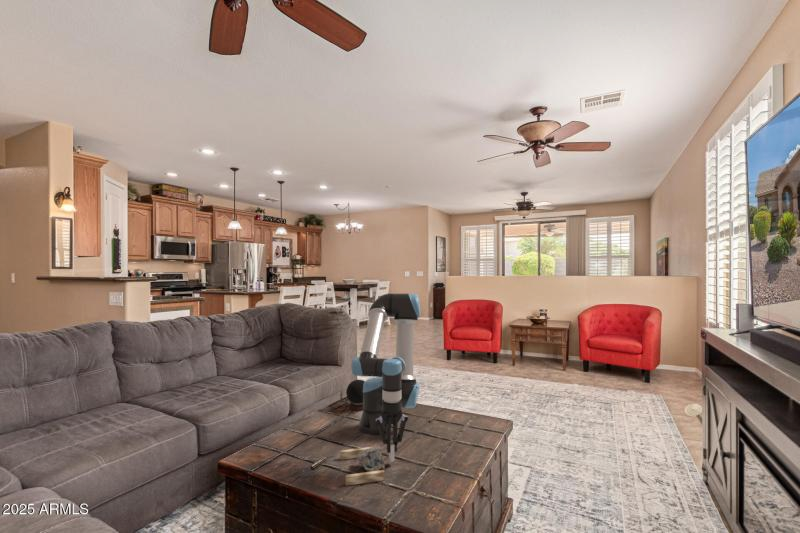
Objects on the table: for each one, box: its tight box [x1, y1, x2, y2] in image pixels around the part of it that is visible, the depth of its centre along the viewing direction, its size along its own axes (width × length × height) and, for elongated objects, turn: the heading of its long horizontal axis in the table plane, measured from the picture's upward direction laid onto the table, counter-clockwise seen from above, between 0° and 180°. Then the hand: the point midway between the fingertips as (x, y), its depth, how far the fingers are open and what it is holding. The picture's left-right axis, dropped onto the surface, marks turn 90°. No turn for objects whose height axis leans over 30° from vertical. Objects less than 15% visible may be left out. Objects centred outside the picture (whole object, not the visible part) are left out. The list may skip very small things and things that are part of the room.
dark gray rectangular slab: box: [300, 469, 315, 479], centre depth 142 cm, size 5×4×1 cm
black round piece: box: [345, 379, 366, 412], centre depth 209 cm, size 13×13×15 cm
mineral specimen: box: [356, 446, 385, 472], centre depth 147 cm, size 10×8×10 cm
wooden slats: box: [339, 446, 386, 487], centre depth 146 cm, size 14×20×3 cm
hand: (391, 460), depth 149 cm, fingers closed
